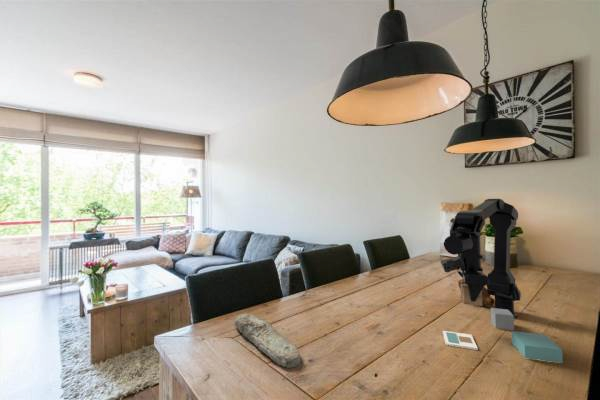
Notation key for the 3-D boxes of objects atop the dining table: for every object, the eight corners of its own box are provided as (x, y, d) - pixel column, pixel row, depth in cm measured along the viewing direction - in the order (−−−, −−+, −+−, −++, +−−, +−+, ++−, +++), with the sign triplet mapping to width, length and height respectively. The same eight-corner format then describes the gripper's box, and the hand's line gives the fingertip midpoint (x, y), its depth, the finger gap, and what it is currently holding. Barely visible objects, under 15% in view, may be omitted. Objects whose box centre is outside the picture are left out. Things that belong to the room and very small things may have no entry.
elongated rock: (279, 381, 67) (309, 367, 73) (280, 361, 67) (310, 348, 73) (227, 324, 95) (252, 318, 101) (227, 310, 95) (252, 304, 101)
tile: (442, 332, 86) (442, 330, 86) (471, 336, 83) (471, 334, 83) (446, 345, 79) (446, 342, 79) (477, 350, 76) (477, 347, 76)
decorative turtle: (465, 294, 119) (466, 276, 118) (501, 309, 105) (502, 289, 104) (449, 296, 115) (450, 278, 115) (484, 312, 101) (486, 292, 101)
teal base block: (511, 344, 79) (511, 331, 79) (545, 348, 76) (544, 334, 76) (525, 360, 71) (524, 345, 71) (562, 365, 69) (562, 349, 69)
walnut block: (461, 298, 89) (460, 283, 89) (478, 300, 87) (478, 285, 87) (463, 304, 85) (463, 288, 85) (482, 306, 83) (482, 290, 83)
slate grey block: (491, 322, 92) (490, 307, 92) (508, 324, 91) (508, 309, 91) (495, 328, 88) (495, 313, 88) (514, 331, 86) (513, 315, 86)
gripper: (439, 244, 98) (440, 286, 98) (445, 254, 80) (447, 306, 80) (474, 245, 93) (475, 289, 93) (489, 257, 76) (490, 311, 76)
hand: (471, 298), depth 86 cm, fingers closed on walnut block, 5 cm apart
